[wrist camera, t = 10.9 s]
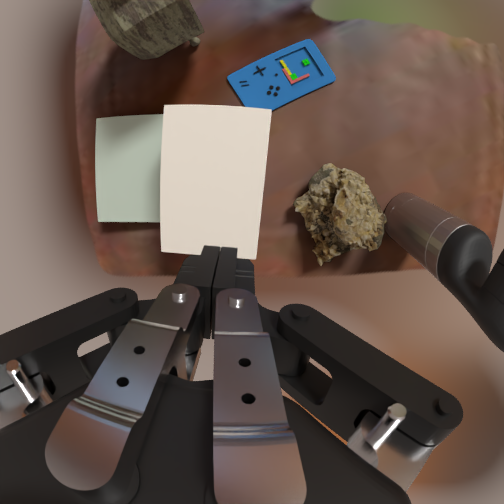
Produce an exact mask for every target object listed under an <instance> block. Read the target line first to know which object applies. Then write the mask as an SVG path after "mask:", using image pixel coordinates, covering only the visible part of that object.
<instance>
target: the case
mask: <svg viewBox="0 0 504 504" xmlns="http://www.w3.org/2000/svg"><path fill="white" fill-rule="evenodd" d="M271 112H272V109H262V108H251V107H239V106H221V105H164V114H163V128H162V145H161V172H160V228H161V252H170V253H182V254H194V255H201V252H202V249H203V247H204V245H209V246H220V248H221V247H234V248H238V251H237V258H244V259H256V254H257V245H258V236H259V226H260V217H261V208H262V198H263V189H264V179H265V170H266V160H267V151H268V141H269V131H270V122H271Z"/></svg>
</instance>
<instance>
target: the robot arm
mask: <svg viewBox="0 0 504 504" xmlns="http://www.w3.org/2000/svg"><path fill="white" fill-rule="evenodd" d="M384 214H385V216H386V219H387V222H386V223H384V228H385V230H386V232H387V234H388V235H389V236H390V237H391V238H392V239H393V240H394V241H396V242H397V243H398V244H399V245H400V246H401V247H402V248H403V249H405V250H406V251H407V252H408V253H409V254H410V255H411V256H413V257H414V258H415V259H416V260H417V261H418V262H419V263H420V264H421V265H422V266H424V267H425V268H426V269H427V270H428V271H429V272H430V273H431V274H432V275H434V277H435V278H436V279H437V280H438V281H440V282H441V283H442V284H443V285H444V286H445V287H446V288H447V289H448V290H449V291H450V292H451V293H452V294H453V295H454V296H455V297H456V298H457V299H458V300H459V302H461V304H462V305H463V306H464V307H465V308H466V310H467V311H468V312H469V313H470V314H471V316H472V317H473V318H474V320H475V321H476V322H477V324H478V325H479V326H480V328H481V329H482V330H483V331H484V333H485V334H486V335H487V336H488V338H489V339H490V340H491V341H492V342H493V343H494V344H495V345H496V346H497V347H498V348H499V349H500V350H501V351H503V352H504V249H503V251H502V252H501V254H500V256H499V258H498V260H497V263H496V264H495V265H494V267H493V269H492V271H491V272H490V267H491V263H492V245H491V242H490V239H489V237H488V236H487V235H486V234H485V233H484V232H483V231H482V230H480V229H478V228H477V227H475V226H473V225H471V224H470V223H468V222H466V221H464V220H463V219H460V218H459V217H457V216H455V215H453V214H451V213H449V212H448V211H446V210H444V209H442V208H440V207H438V206H436V205H434V204H432V203H430V202H428V201H426V200H424V199H422V198H420V197H418V196H416V195H413V194H411V193H402V194H399V195H397V196H395V197H394V198H393V199H392V200H391V201H390V202H389V204H388V206H387V207H386V210H385V213H384ZM237 251H238V248H234V247H221V248H220V246H209V245H204V247H203V249H202V252H201V255H191V256H189V257H188V258H186V259H185V260H184V262H183V264H182V267H181V268H180V271H179V273H178V275H177V277H176V279H175V281H174V284H172V285H169V286H166V287H165V288H163V289H162V291H161V292H160V293H159V295H158V297H157V298H156V299H152V300H140V301H138V297H137V294H136V293H135V291H133V290H131V289H128V288H114V289H111V290H108V291H105V292H104V293H101V294H98V295H95V296H93V297H90V298H88V299H86V300H83V301H81V302H78V303H76V304H73V305H71V306H69V307H66V308H64V309H61V310H59V311H56V312H54V313H51V314H49V315H47V316H44V317H42V318H39V319H37V320H35V321H32V322H30V323H28V324H25V325H23V326H20V327H18V328H16V329H13V330H11V331H9V332H6V333H4V334H2V335H0V504H411V501H410V499H409V497H408V495H407V494H406V491H407V490H408V488H409V487H410V485H411V484H412V482H413V481H414V479H415V478H416V476H417V475H418V473H419V472H420V470H421V469H422V467H423V465H424V464H425V462H426V461H427V459H428V457H429V455H430V454H431V452H432V450H433V449H434V448H435V447H436V446H437V445H439V444H440V443H441V442H442V441H443V440H444V439H445V438H446V437H447V436H448V435H449V434H450V433H451V432H452V431H453V430H454V429H455V428H456V427H457V426H458V425H459V424H460V423H461V421H462V418H463V409H462V407H461V404H460V403H459V401H458V400H457V399H456V398H455V397H454V396H453V395H451V394H449V393H448V392H446V391H445V390H443V389H441V388H440V387H438V386H436V385H434V384H433V383H431V382H430V381H428V380H427V379H425V378H423V377H422V376H420V375H418V374H417V373H415V372H413V371H412V370H410V369H409V368H407V367H406V366H404V365H402V364H401V363H399V362H397V361H396V360H394V359H393V358H391V357H389V356H388V355H386V354H385V353H383V352H381V351H380V350H378V349H377V348H375V347H373V346H372V345H370V344H368V343H367V342H365V341H364V340H362V339H361V338H359V337H358V336H356V335H354V334H353V333H351V332H350V331H348V330H346V329H345V328H343V327H341V326H340V325H339V324H337V323H335V322H334V321H332V320H331V319H329V318H327V317H326V316H324V315H323V314H321V313H320V312H318V311H317V310H315V309H313V308H311V307H309V306H306V305H303V304H289V305H286V306H284V307H283V308H282V309H281V310H280V312H275V311H272V310H269V309H266V308H264V307H262V306H261V305H260V304H259V303H258V301H257V298H256V296H255V286H254V265H253V264H252V262H251V261H250V260H249V259H238V258H237ZM489 272H490V274H489ZM211 330H212V339H214V380H205V381H193V379H194V375H195V372H196V368H197V365H198V362H199V358H200V355H201V345H202V342H203V338H206V339H210V336H211ZM105 332H107V334H108V337H109V341H110V343H108V344H106V345H104V346H102V347H100V348H98V349H96V350H94V351H92V352H89V353H87V354H85V355H83V356H81V357H78V355H77V350H78V348H79V346H80V345H81V344H82V343H84V342H86V341H88V340H90V339H93V338H95V337H97V336H99V335H101V334H103V333H105ZM310 357H311V358H312V359H314V360H315V361H316V362H318V363H319V364H320V365H322V366H323V367H325V368H326V369H327V370H328V371H329V372H330V374H331V376H332V378H330V377H329V376H328V375H326V374H325V373H323V372H322V371H321V370H319V369H318V368H317V367H315V366H314V365H313V364H312V363H310V362H309V359H310ZM280 387H281V388H282V389H283V390H284V391H285V392H286V393H288V394H289V395H290V396H291V397H292V398H294V399H295V400H296V401H297V402H298V403H299V404H301V405H302V406H303V407H304V408H305V409H307V410H308V411H309V412H310V413H311V414H313V415H314V416H315V417H316V418H318V419H319V420H320V421H321V422H322V423H324V424H325V425H326V426H328V427H329V428H330V429H331V430H333V431H334V432H335V433H336V434H338V435H339V436H341V437H342V438H343V439H344V440H346V441H347V442H348V443H347V445H345V444H344V443H343V442H341V440H339V439H338V438H336V436H334V435H333V434H332V433H331V432H330V431H328V430H327V429H326V428H325V427H324V426H323V425H322V424H320V423H319V422H318V421H317V420H316V419H314V418H313V417H312V416H311V415H310V414H309V413H308V412H307V411H306V410H304V409H303V408H302V407H301V406H300V405H298V404H297V403H295V402H294V401H292V400H290V399H289V398H287V397H285V396H282V392H281V388H280Z"/></svg>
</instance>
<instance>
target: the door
mask: <svg viewBox="0 0 504 504" xmlns="http://www.w3.org/2000/svg"><path fill="white" fill-rule="evenodd" d="M162 128H163V114H155V115H132V116H117V117H106V118H97V119H96V144H95V173H96V198H97V213H98V222H160V172H161V145H162Z"/></svg>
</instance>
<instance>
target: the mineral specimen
mask: <svg viewBox="0 0 504 504" xmlns="http://www.w3.org/2000/svg"><path fill="white" fill-rule="evenodd" d="M308 187H309V191H308V192H306V193H305V194H304V195H303V196H301V197H298V198H297V199H296V200H295V201H294V203H293V205H294V207H295V208H296V209H295V211H297V212H300V213H301V214H302V216H303V217H304V219H305V227H306V229H307V231H309V232H310V233H311V234H312V238H313V239H314V241H315V243H316V246H314V248H315V249H314V250H312V251H313V252H314V253H315V254H316V256H317V257H318V259H317V261H318V263H319V264H320V266H322V264H323V262H331V260H332V259H333V258H334V256H337V255H340V254H343V253H345V252H347V251H350V250H352V249H360V248H362V249H363V248H364V249H366V248H368V250H369V252H370V251H372V250H377V249H378V248H379V247H380V245H381V242H382V237H383V235H384V223H386V222H387V219H386V216H385V214H384V213H383V211H382V210H381V209H380V206H379V204H378V203H377V200H376V198H375V197H374V196H373V195H372V193H371V192H370V190H369V186H368V185H367V184H366V183H365V178H363V177H361V175H359V174H358V173H356V172H354V171H351V170H349V169H346V168H343V169H339V168H337V167H335V166H334V165H333V164H332V163H328V164H325V165H323V166H322V168H321V169H320V170H319V171H318V172H317V173H316V174H315V175H314V176H313V177H312V178H311V180H310V182H309V186H308Z"/></svg>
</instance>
